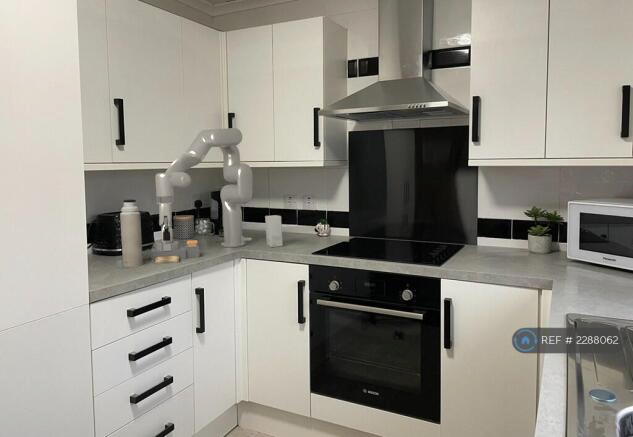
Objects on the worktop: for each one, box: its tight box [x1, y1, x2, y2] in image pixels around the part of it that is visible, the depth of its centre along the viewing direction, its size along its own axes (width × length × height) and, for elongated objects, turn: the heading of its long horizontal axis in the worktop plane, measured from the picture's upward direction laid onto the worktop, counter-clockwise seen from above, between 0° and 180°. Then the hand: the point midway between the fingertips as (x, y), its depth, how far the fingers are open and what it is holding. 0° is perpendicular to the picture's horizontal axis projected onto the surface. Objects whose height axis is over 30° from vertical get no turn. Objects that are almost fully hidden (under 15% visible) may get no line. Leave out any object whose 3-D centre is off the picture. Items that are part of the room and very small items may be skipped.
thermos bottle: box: [119, 199, 144, 268], centre depth 215 cm, size 8×8×28 cm
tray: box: [154, 256, 180, 265], centre depth 223 cm, size 10×8×2 cm
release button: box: [186, 239, 198, 247], centre depth 234 cm, size 5×5×6 cm
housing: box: [150, 240, 200, 261], centre depth 232 cm, size 21×10×7 cm, turn 104°
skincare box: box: [264, 214, 284, 248], centre depth 260 cm, size 8×7×16 cm
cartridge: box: [158, 220, 173, 244], centre depth 231 cm, size 5×5×13 cm
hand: (167, 239), depth 231 cm, fingers open, 6 cm apart
